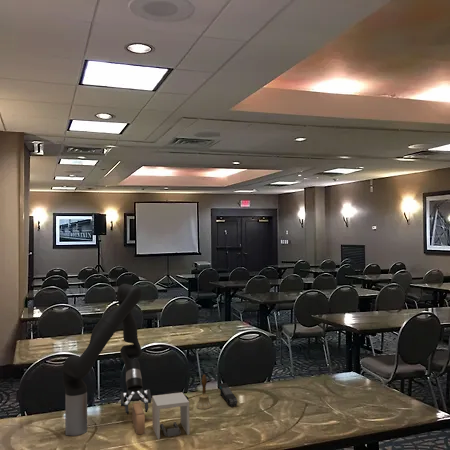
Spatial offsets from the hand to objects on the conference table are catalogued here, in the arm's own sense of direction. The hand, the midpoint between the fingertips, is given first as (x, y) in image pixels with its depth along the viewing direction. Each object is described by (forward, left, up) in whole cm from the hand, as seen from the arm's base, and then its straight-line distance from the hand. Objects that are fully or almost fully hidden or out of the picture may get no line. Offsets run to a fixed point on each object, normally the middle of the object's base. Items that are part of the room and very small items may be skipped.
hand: (137, 412), depth 222 cm
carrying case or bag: (+24, +27, -6) cm, 36 cm away
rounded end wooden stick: (0, -5, -5) cm, 7 cm away
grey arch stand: (+13, -14, -5) cm, 20 cm away
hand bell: (+35, +11, -5) cm, 37 cm away
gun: (+49, +15, -5) cm, 51 cm away
